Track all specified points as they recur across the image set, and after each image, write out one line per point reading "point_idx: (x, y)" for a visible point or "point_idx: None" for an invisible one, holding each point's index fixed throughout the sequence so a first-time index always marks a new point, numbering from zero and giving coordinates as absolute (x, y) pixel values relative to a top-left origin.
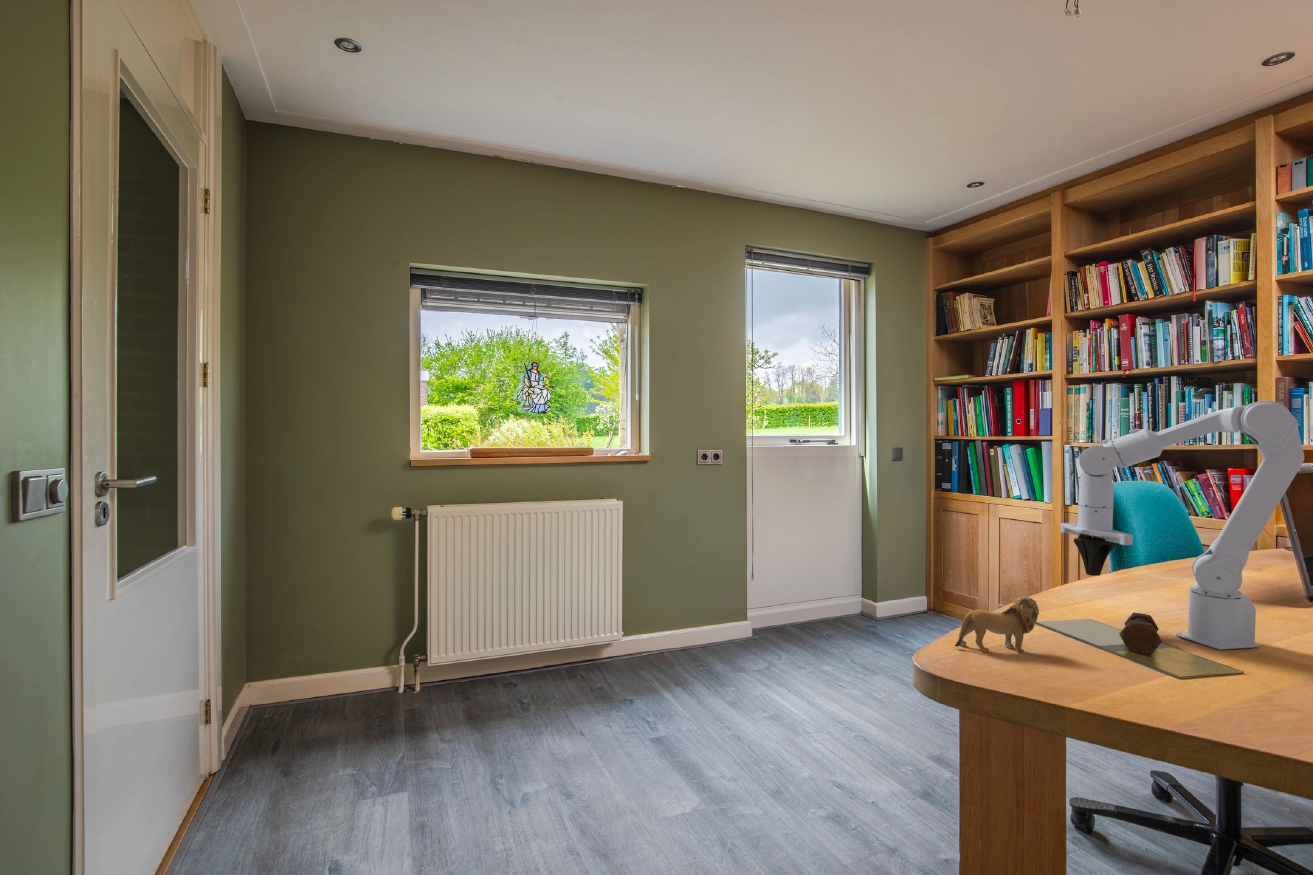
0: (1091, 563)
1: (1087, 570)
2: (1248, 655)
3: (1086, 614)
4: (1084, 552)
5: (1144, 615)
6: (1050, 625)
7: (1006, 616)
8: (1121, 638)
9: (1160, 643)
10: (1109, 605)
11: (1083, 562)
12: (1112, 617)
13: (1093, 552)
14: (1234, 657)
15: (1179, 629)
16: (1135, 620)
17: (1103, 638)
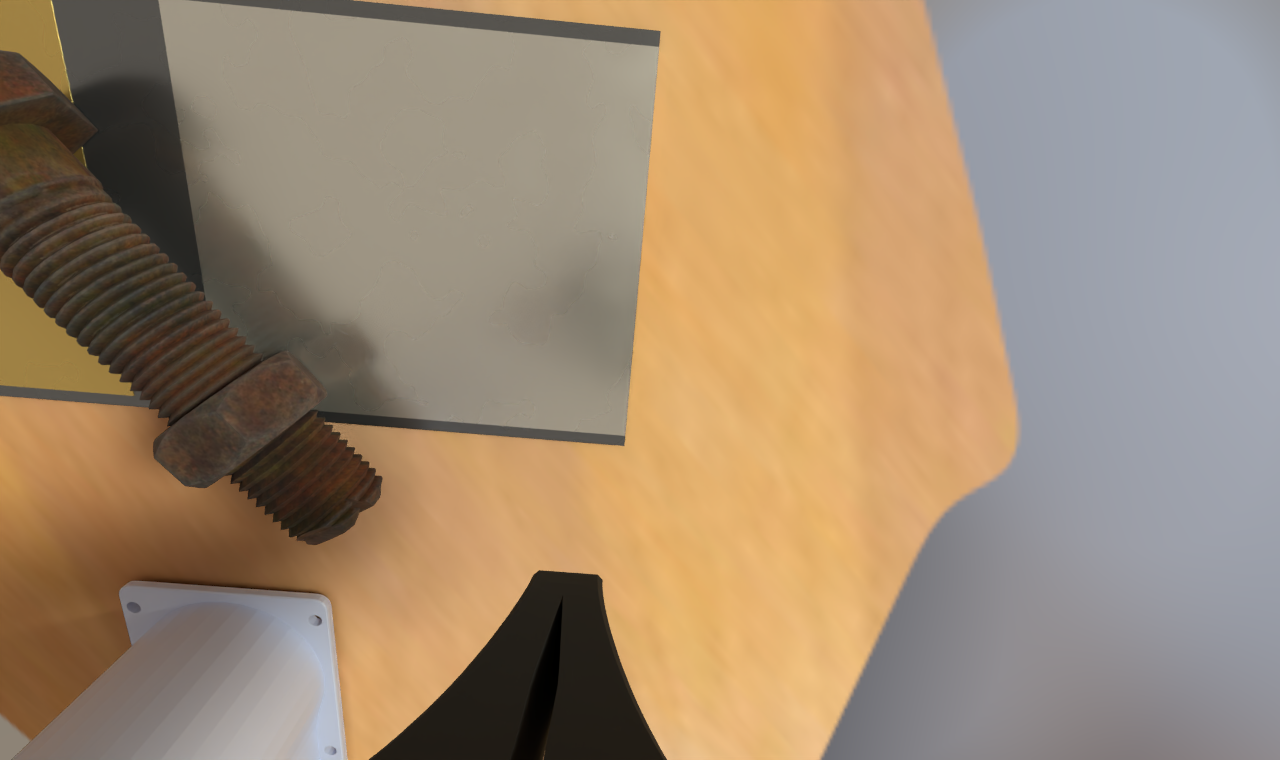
0: (492, 639)
1: (572, 591)
2: (76, 624)
3: (714, 525)
4: (562, 736)
5: (169, 438)
6: (568, 72)
7: None
8: (286, 281)
9: None
10: (792, 752)
11: (607, 639)
12: (636, 598)
13: (383, 748)
14: (46, 549)
15: (419, 697)
16: (167, 351)
17: (293, 173)
